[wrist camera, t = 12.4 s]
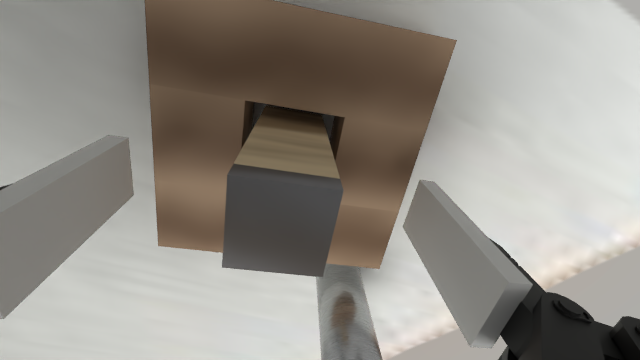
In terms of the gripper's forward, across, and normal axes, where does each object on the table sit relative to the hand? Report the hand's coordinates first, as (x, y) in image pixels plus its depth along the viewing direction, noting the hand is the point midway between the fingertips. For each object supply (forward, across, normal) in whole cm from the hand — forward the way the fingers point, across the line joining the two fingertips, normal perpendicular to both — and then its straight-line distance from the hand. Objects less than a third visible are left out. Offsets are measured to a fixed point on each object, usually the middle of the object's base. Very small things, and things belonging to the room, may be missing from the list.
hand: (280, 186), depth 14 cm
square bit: (+9, 0, 0) cm, 9 cm away
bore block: (+9, 0, 0) cm, 9 cm away
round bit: (+9, +6, -12) cm, 16 cm away
